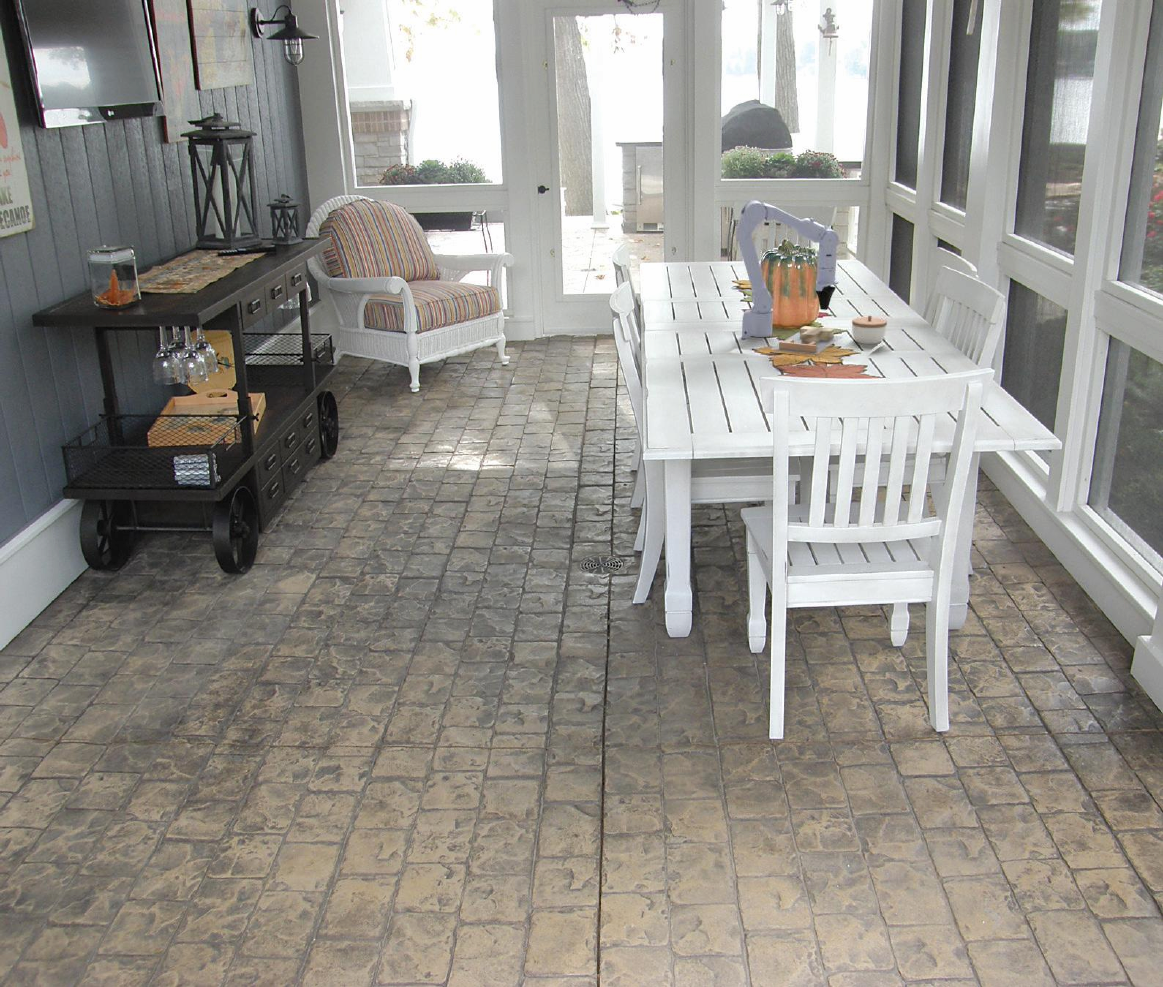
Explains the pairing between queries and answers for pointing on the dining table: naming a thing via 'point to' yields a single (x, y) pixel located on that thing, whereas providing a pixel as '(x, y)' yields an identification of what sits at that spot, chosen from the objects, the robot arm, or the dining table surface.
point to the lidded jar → (868, 329)
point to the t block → (815, 334)
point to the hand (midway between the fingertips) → (824, 309)
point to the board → (803, 345)
